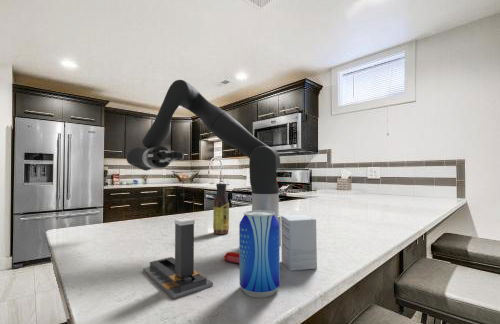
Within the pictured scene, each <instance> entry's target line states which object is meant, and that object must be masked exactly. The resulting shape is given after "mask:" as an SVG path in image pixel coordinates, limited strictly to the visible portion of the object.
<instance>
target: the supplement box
mask: <svg viewBox="0 0 500 324" xmlns="http://www.w3.org/2000/svg"><path fill="white" fill-rule="evenodd" d="M280 217H281V262H282V263H283V264H284V265H285V267H287V269H288V270H289V272H290V271H291V272H293V271H294V272H295V271H304V270H314V269H315V270H316V269H318V259H317V258H318V252H317V250H318V248H317V219H316V218H314V217H311V216H309V215H306V214H294V215H293V214H292V215H291V214H290V215H281V216H280Z"/></svg>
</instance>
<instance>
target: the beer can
mask: <svg viewBox="0 0 500 324" xmlns="http://www.w3.org/2000/svg"><path fill="white" fill-rule="evenodd" d="M274 215H275V213H274V212H272V211H263V210H255V211H252V210H249V211H248V210H247V211H245V212H243V217H242V218H241V219H240V221H239V224H238V228H239V229H238V230H239V231H238V232H239V233H238V235H239V239H238V240H239V244H238V245H239V246H238V247H239V248H238V249H239V250H238V251H239V263H238V264H239V286H240V288H241V289H242V291H243V293H244V294H246V295H247V296H249V297H253V298H268V297H271V296H273V295H274V294H275V293H276V291H278V288H279V287H280V283H281V280H280V279H281V278H280V277H281V275H280V274H281V273H280V272H281V270H280V269H281V268H280V266H281V265H280V264H281V263H280V262H281V261H280V259H281V258H280V257H281V256H280V245H279V222H278V221H277V219H276V217H275V216H274Z"/></svg>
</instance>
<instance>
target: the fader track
mask: <svg viewBox="0 0 500 324" xmlns="http://www.w3.org/2000/svg"><path fill="white" fill-rule="evenodd" d="M142 269H143V270H142V273H144V274H145V275H146V276H147V277H148V278H150V279H151V280H152V281H153V282H154V283H155V284H156V285H157V286H158V287H159V288H160V289H161V290H162V291H163V292H165V293H166V295H168V296H169V297H170V298H171V299H172V300H175V299H178V298H181V297H183V296H187V295H189V294H192V293H195V292H198V291H202V290H205V289H208V288H211V287H214V286H213V285H214V281H212V280H210V279H209V278H207V276H204V275H202V274H201V273H200V272H198V271H196V270H194V274H193V275H190V277H191V278H192V281H189V282H186V281H185V280H183V278H180V277H179V276H177V275H176V274H175V257H173V256H169V257H166V258H162V259H157V260H152V261H150V262H149V266H148V267H147V266H146V267H144V268H142Z"/></svg>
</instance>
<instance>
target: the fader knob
mask: <svg viewBox="0 0 500 324" xmlns="http://www.w3.org/2000/svg"><path fill="white" fill-rule="evenodd" d="M195 224H196V223H195V219H192V218H189V217H185V218H177V219H176V218H175V219H174V227H175V228H174V259H175V274H176V275H177V276H179V277H180V278H183V280H185V281H186V282H189V281H192V278H191V277H190V275H193V274H194V271H195V267H194V266H195V263H194V262H195V261H194V260H195V256H194V255H195Z"/></svg>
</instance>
